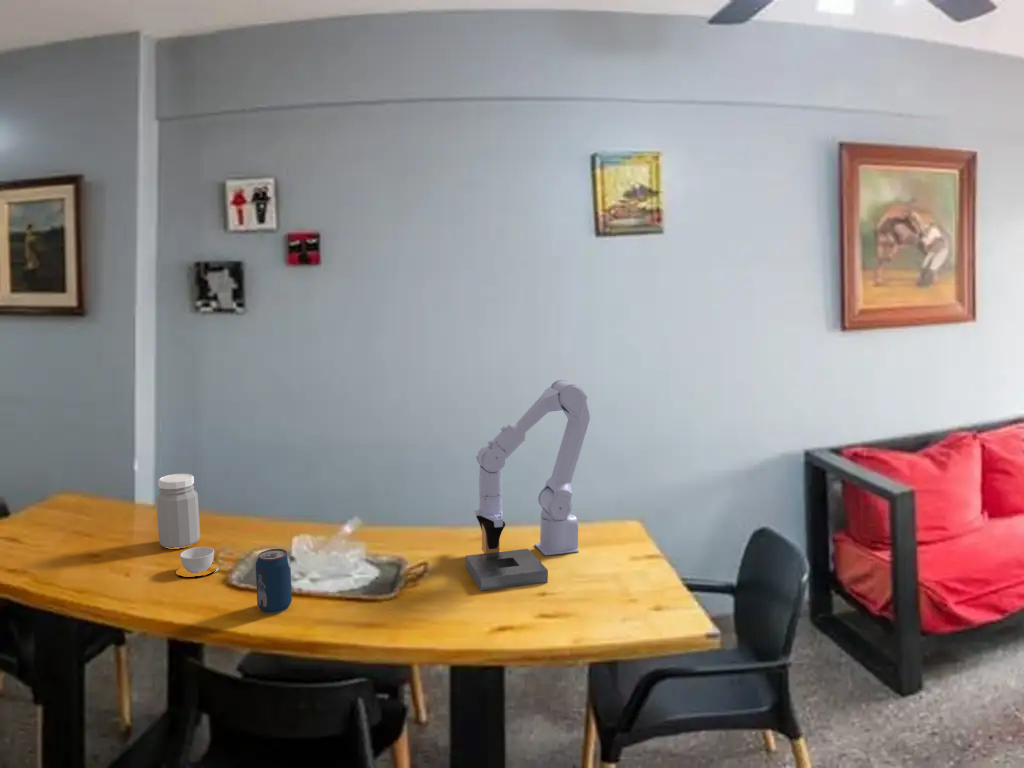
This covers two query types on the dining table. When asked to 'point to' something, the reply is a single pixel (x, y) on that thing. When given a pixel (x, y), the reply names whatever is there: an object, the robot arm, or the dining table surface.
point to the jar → (177, 511)
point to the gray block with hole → (506, 569)
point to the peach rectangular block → (485, 544)
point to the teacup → (197, 559)
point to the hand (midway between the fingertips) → (490, 545)
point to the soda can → (273, 581)
